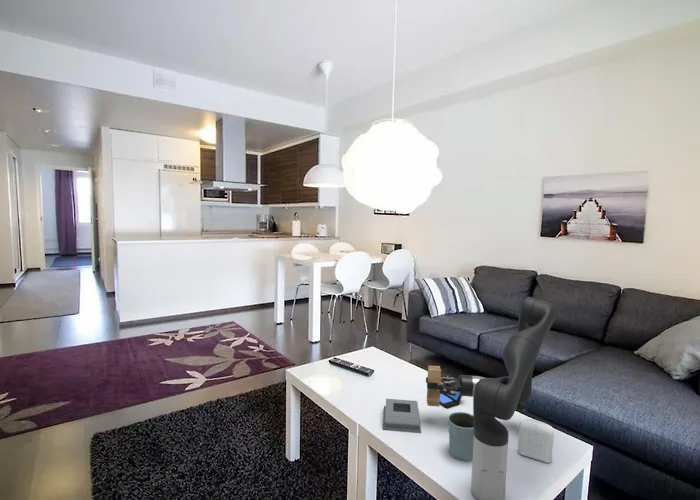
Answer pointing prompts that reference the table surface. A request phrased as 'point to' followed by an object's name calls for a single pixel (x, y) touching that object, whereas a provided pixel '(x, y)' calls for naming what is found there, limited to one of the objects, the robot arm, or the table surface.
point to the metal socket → (401, 416)
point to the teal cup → (461, 435)
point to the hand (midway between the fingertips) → (426, 382)
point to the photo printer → (536, 440)
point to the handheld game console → (449, 400)
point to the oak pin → (433, 394)
